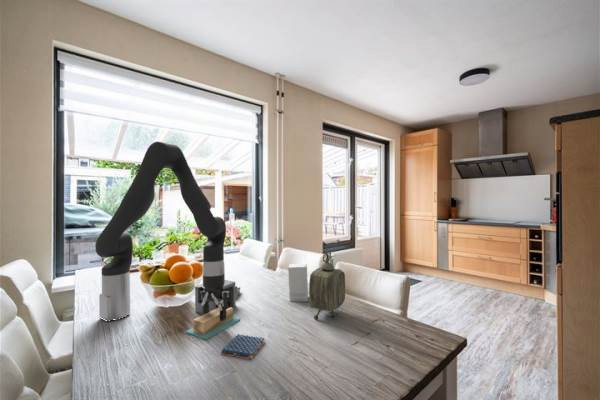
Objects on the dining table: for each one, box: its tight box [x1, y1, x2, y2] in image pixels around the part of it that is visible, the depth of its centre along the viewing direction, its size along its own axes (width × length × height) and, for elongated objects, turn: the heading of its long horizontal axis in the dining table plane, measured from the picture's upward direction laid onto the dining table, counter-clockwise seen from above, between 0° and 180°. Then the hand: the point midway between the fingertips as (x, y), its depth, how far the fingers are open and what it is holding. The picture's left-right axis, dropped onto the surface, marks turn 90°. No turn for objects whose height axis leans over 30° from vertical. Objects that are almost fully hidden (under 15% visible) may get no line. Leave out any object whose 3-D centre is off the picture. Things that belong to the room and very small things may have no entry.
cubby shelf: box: [194, 279, 237, 314], centre depth 113 cm, size 12×10×10 cm
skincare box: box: [287, 263, 309, 302], centre depth 122 cm, size 8×7×16 cm
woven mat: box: [220, 333, 266, 360], centre depth 82 cm, size 10×11×2 cm
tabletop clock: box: [308, 250, 346, 320], centre depth 104 cm, size 14×9×25 cm, turn 149°
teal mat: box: [185, 316, 241, 340], centre depth 97 cm, size 16×10×1 cm, turn 151°
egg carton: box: [235, 285, 241, 298], centre depth 128 cm, size 11×8×4 cm
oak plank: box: [192, 306, 234, 335], centre depth 97 cm, size 5×14×4 cm, turn 152°
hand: (214, 317), depth 97 cm, fingers open, 8 cm apart
